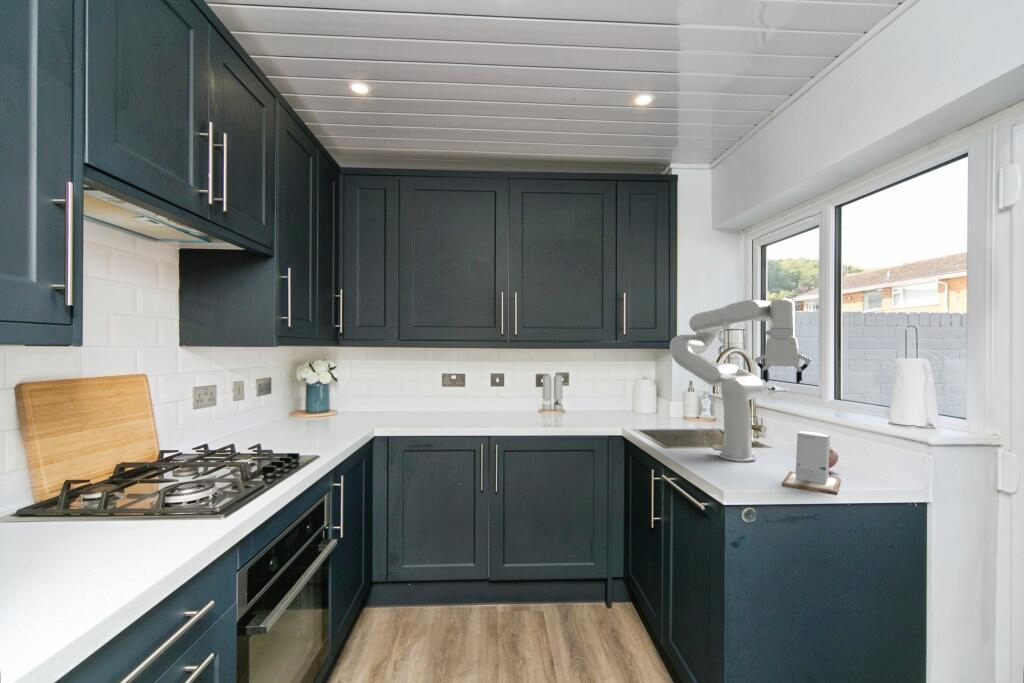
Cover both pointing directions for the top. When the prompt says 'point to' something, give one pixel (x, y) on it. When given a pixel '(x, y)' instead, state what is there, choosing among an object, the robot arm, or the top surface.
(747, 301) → the robot arm
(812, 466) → the skincare box
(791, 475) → the clipboard
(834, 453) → the decorative fruit
